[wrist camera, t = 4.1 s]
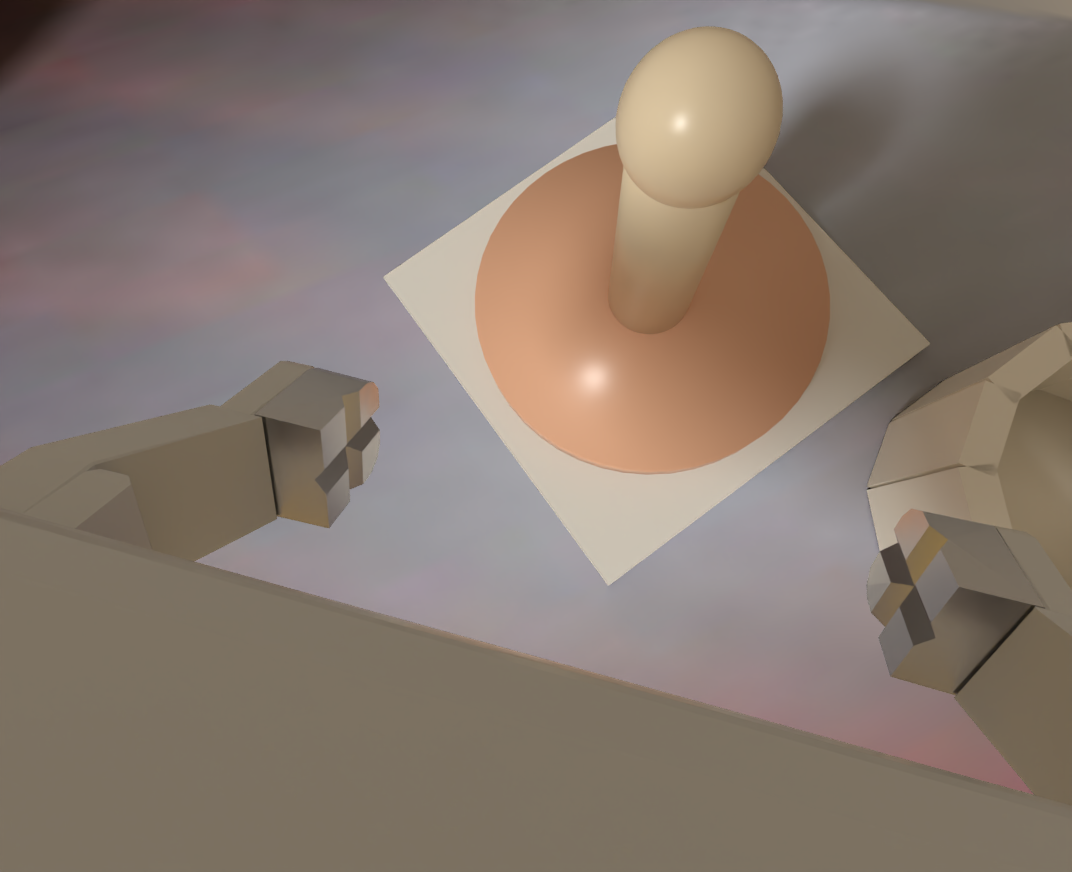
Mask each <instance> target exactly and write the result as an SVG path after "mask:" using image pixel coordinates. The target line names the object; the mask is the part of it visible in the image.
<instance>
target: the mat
mask: <svg viewBox="0 0 1072 872" xmlns="http://www.w3.org/2000/svg"><path fill="white" fill-rule="evenodd" d="M614 144H617V142H616V117H615V118H613V119H612V120H610V121H609V122H608V123H606V124H605V125H603V126H602V127H600V128H599V129H597V130H596V131H595V132H593V133H592V134H590V135H589V136H587V137H586V138H584V139H583V140H581V141H580V142H579V143H577V144H576V145H574V146H573V147H571V148H570V149H568V150H567V151H565V152H564V153H563V154H561V155H560V156H558V157H557V158H555V159H554V160H552V161H551V162H549V163H548V164H547V165H545V166H544V167H542V168H541V169H539V170H538V171H536V172H535V173H533V174H532V175H531V176H529V177H528V178H526V179H525V180H523V181H522V182H520V183H519V184H517V185H516V186H515V187H513V188H512V189H510V190H509V191H507V192H506V193H504V194H503V195H501V196H500V197H499V198H497V199H496V200H494V201H493V202H491V203H490V204H488V205H487V206H486V207H484V208H483V209H481V210H480V211H478V212H477V213H475V214H474V215H472V216H471V217H470V218H468V219H467V220H465V221H464V222H462V223H461V224H459V225H458V226H456V227H455V228H454V229H452V230H451V231H449V232H448V233H446V234H445V235H443V236H442V237H440V238H439V239H438V240H436V241H435V242H433V243H432V244H430V245H429V246H427V247H426V248H424V249H423V250H422V251H420V252H419V253H417V254H416V255H414V256H413V257H411V258H410V259H408V260H407V261H406V262H404V263H403V264H401V265H400V266H398V267H397V268H395V269H394V270H392V271H391V272H390V273H388V274H387V275H385V276H384V277H383V278H384V279H385V281H386V282H387V283H388V285H389V286H390V288H391V289H392V290H393V292H394V293H395V294H396V296H397V297H398V299H399V300H400V301H401V303H402V304H403V305H404V307H405V308H406V310H407V311H408V312H409V314H410V315H411V316H412V318H413V319H414V320H415V322H416V323H417V325H418V326H419V327H420V329H421V330H422V331H423V333H424V334H425V336H426V337H427V338H428V340H429V341H430V342H431V344H432V345H433V347H434V348H435V349H436V351H437V352H438V353H439V355H440V356H441V358H442V359H443V360H444V362H445V363H446V364H447V366H448V367H449V368H450V370H451V371H452V373H453V374H454V375H455V377H456V378H457V379H458V381H459V382H460V384H461V385H462V386H463V388H464V389H465V390H466V392H467V393H468V395H469V396H470V397H471V399H472V400H473V401H474V403H475V404H476V405H477V407H478V408H479V410H480V411H481V412H482V414H483V415H484V416H485V418H486V419H487V421H488V422H489V423H490V425H491V426H492V427H493V429H494V430H495V432H496V433H497V434H498V436H499V437H500V438H501V440H502V441H503V442H504V444H505V445H506V447H507V448H508V449H509V451H510V452H511V453H512V455H513V456H514V458H515V459H516V460H517V462H518V463H519V464H520V466H521V467H522V469H523V470H524V471H525V473H526V474H527V475H528V477H529V478H530V480H531V481H532V482H533V484H534V485H535V486H536V488H537V489H538V490H539V492H540V493H541V495H542V496H543V497H544V499H545V500H546V501H547V503H548V504H549V506H550V507H551V508H552V510H553V511H554V512H555V514H556V515H557V517H558V518H559V519H560V521H561V522H562V523H563V525H564V526H565V527H566V529H567V530H568V532H569V533H570V534H571V536H572V537H573V538H574V540H575V541H576V543H577V544H578V545H579V547H580V548H581V549H582V551H583V552H584V554H585V555H586V556H587V558H588V559H589V560H590V562H591V563H592V564H593V566H594V567H595V569H596V570H597V571H598V573H599V574H600V575H601V577H602V578H603V580H604V581H605V582H606V584H607V585H608V586H609V585H610V584H612V583H613V582H614V581H616V580H617V579H618V578H620V577H621V576H622V575H624V574H625V573H626V572H628V571H629V570H630V569H632V568H633V567H634V566H636V565H637V564H638V563H640V562H641V561H642V560H644V559H645V558H646V557H647V556H649V555H650V554H651V553H653V552H654V551H655V550H657V549H658V548H659V547H661V546H662V545H663V544H665V543H666V542H667V541H669V540H670V539H671V538H673V537H674V536H675V535H677V534H678V533H679V532H681V531H682V530H683V529H685V528H686V527H687V526H689V525H690V524H691V523H693V522H694V521H695V520H697V519H698V518H699V517H701V516H702V515H703V514H705V513H706V512H707V511H709V510H710V509H711V508H713V507H714V506H715V505H717V504H718V503H719V502H721V501H722V500H723V499H725V498H726V497H727V496H729V495H730V494H731V493H733V492H734V491H735V490H737V489H738V488H739V487H741V486H742V485H743V484H745V483H746V482H747V481H749V480H750V479H751V478H753V477H754V476H755V475H757V474H758V473H759V472H761V471H762V470H763V469H765V468H766V467H767V466H769V465H770V464H771V463H773V462H774V461H775V460H777V459H778V458H779V457H781V456H782V455H783V454H785V453H786V452H787V451H789V450H790V449H791V448H792V447H794V446H795V445H796V444H798V443H799V442H800V441H802V440H803V439H804V438H806V437H807V436H808V435H810V434H811V433H812V432H814V431H815V430H816V429H818V428H819V427H820V426H822V425H823V424H824V423H826V422H827V421H828V420H830V419H831V418H832V417H834V416H835V415H836V414H838V413H839V412H840V411H842V410H843V409H844V408H846V407H847V406H848V405H850V404H851V403H852V402H854V401H855V400H856V399H858V398H859V397H860V396H862V395H863V394H864V393H866V392H867V391H868V390H870V389H871V388H872V387H874V386H875V385H876V384H878V383H879V382H880V381H882V380H883V379H884V378H886V377H887V376H888V375H890V374H891V373H892V372H894V371H895V370H896V369H898V368H899V367H900V366H902V365H903V364H904V363H906V362H907V361H908V360H910V359H911V358H912V357H914V356H915V355H916V354H918V353H919V352H920V351H922V350H923V349H924V348H926V347H927V346H928V345H930V343H929V341H928V340H927V339H926V338H925V337H924V336H923V335H922V334H921V333H920V332H919V331H918V330H917V329H916V328H915V327H914V326H913V325H912V324H911V322H910V321H909V320H908V319H907V318H906V317H905V316H904V315H903V314H902V313H901V312H900V311H899V310H898V309H897V308H896V307H895V306H894V305H893V303H892V302H891V301H890V300H889V299H888V298H887V297H886V296H885V295H884V294H883V293H882V292H881V291H880V290H879V289H878V288H877V287H876V285H875V284H874V283H873V282H872V281H871V280H870V279H869V278H868V277H867V276H866V275H865V274H864V273H863V272H862V271H861V270H860V269H859V268H858V266H857V265H856V264H855V263H854V262H853V261H852V260H851V259H850V258H849V257H848V256H847V255H846V254H845V253H844V252H843V251H842V250H841V249H840V247H839V246H838V245H837V244H836V243H835V242H834V241H833V240H832V239H831V238H830V237H829V236H828V235H827V234H826V233H825V232H824V231H823V230H822V228H821V227H820V226H819V225H818V224H817V223H816V222H815V221H814V220H813V219H812V218H811V217H810V216H809V215H808V214H807V213H806V212H805V210H804V209H803V208H802V207H801V206H800V205H799V204H798V203H797V202H796V201H795V200H794V199H793V198H792V197H791V196H790V195H789V194H788V193H787V191H786V190H785V189H784V188H783V187H782V186H781V185H780V184H779V183H778V182H777V181H776V180H775V179H774V178H773V177H772V176H771V175H770V174H769V172H768V171H767V170H766V169H765V168H764V167H763V169H762V170H761V172H760V173H759V175H760V176H761V177H763V178H764V179H766V180H767V181H768V182H770V183H771V184H772V185H773V186H774V187H775V188H776V189H777V190H778V191H779V192H781V193H782V194H783V195H784V196H785V197H786V198H787V199H788V201H789V202H790V203H791V204H792V205H793V207H794V208H795V209H796V210H797V212H798V213H799V214H800V215H801V217H802V219H803V220H804V222H805V223H806V225H807V226H808V228H809V230H810V231H811V233H812V235H813V237H814V239H815V242H816V244H817V246H818V248H819V251H820V253H821V256H822V259H823V263H824V266H825V270H826V273H827V279H828V286H829V293H830V321H829V328H828V335H827V341H826V344H825V347H824V351H823V354H822V357H821V361H820V363H819V365H818V367H817V369H816V372H815V374H814V376H813V378H812V380H811V382H810V384H809V385H808V387H807V388H806V390H805V391H804V393H803V394H802V396H801V397H800V399H799V400H798V402H797V403H796V404H795V405H794V406H793V407H792V409H791V410H790V411H789V412H788V413H787V414H786V415H785V417H784V418H783V419H782V420H780V421H779V422H778V423H777V424H776V425H775V426H773V427H772V428H771V429H770V430H769V431H768V432H766V433H765V434H764V435H762V436H761V437H759V438H758V439H757V440H755V441H753V442H752V443H750V444H749V445H747V446H746V447H744V448H743V449H741V450H740V451H738V452H736V453H734V454H732V455H730V456H728V457H726V458H724V459H722V460H720V461H717V462H715V463H712V464H709V465H706V466H703V467H699V468H696V469H693V470H688V471H682V472H676V473H671V474H651V475H644V474H632V473H622V472H618V471H613V470H608V469H604V468H600V467H597V466H594V465H591V464H588V463H585V462H583V461H580V460H578V459H576V458H574V457H572V456H570V455H568V454H566V453H564V452H562V451H560V450H558V449H557V448H555V447H554V446H552V445H551V444H549V443H548V442H546V441H545V440H543V439H542V438H541V437H539V436H538V435H537V434H536V433H535V432H534V431H533V430H532V429H530V428H529V427H528V426H527V425H526V424H525V423H524V422H523V421H522V420H521V419H520V418H519V416H518V415H517V414H516V413H515V412H514V410H513V409H512V408H511V407H510V406H509V404H508V403H507V401H506V399H505V398H504V396H503V395H502V393H501V392H500V390H499V389H498V387H497V384H496V382H495V380H494V378H493V376H492V374H491V372H490V369H489V367H488V365H487V363H486V361H485V358H484V355H483V351H482V348H481V345H480V342H479V338H478V332H477V326H476V319H475V290H476V282H477V274H478V271H479V267H480V263H481V259H482V256H483V253H484V250H485V248H486V246H487V243H488V241H489V238H490V236H491V234H492V232H493V231H494V229H495V227H496V226H497V224H498V222H499V220H500V219H501V217H502V216H503V214H504V213H505V212H506V211H507V209H508V208H509V207H510V205H511V204H512V203H513V201H514V200H515V199H516V198H517V197H518V196H519V195H520V194H521V193H522V192H523V191H524V190H525V189H526V188H527V187H528V186H529V185H531V184H532V183H533V182H535V181H536V180H537V179H538V178H540V177H541V176H542V175H543V174H545V173H546V172H548V171H549V170H551V169H553V168H554V167H556V166H558V165H559V164H561V163H563V162H565V161H567V160H569V159H571V158H573V157H576V156H578V155H580V154H582V153H585V152H588V151H591V150H595V149H598V148H601V147H604V146H609V145H614Z"/></svg>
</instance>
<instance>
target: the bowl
mask: <svg viewBox="0 0 1072 872" xmlns="http://www.w3.org/2000/svg"><path fill="white" fill-rule="evenodd" d="M891 421H892V422H891V423H889V425H888V428H887V431H886V433H885V436H884V439H883V442H882V445H881V448H880V450H879V453H878V456H877V459H876V462H875V465H874V467H873V470H872V473H871V476H870V479H869V482H868V484H867V487H869V488H872V489H868V490H867V494H868V499H869V503H870V508H871V513H872V517H873V522H874V526H875V531H876V536H877V540H878V545H879V549H880V551H881V550H883V549H885V548H888V547H890V546H892V545H894V544H896V543H898V542H897V538H896V535H895V532H894V528H895V526H896V525H897V523H898V522H899V520H900V519H901V517H902V516H903V515H904V514H905V513H907V512H908V511H909V510H910V509H916V510H921V511H925V512H930V513H935V514H939V515H944V516H949V517H954V518H958V519H963V520H968V521H972V522H977V523H982V524H989V525H994V526H999V527H1004V528H1009V529H1014V530H1019V531H1024V532H1027V533H1028V534H1030V535H1032V536H1033V537H1035V538H1036V539H1037V540H1038V542H1039V543H1040V545H1041V546H1042V548H1043V549H1044V550H1045V552H1046V553H1047V555H1048V556H1049V558H1050V559H1051V561H1052V562H1053V564H1054V565H1055V567H1056V568H1057V569H1058V571H1059V572H1060V574H1061V575H1062V577H1063V578H1064V580H1065V581H1066V583H1067V584H1068V586H1069V587H1070V588H1071V590H1072V322H1068V323H1060V324H1058V325H1055V326H1053V327H1051V328H1049V329H1047V330H1045V331H1043V332H1041V333H1039V334H1037V335H1035V336H1033V337H1031V338H1029V339H1027V340H1025V341H1023V342H1021V343H1019V344H1017V345H1015V346H1013V347H1011V348H1009V349H1007V350H1005V351H1002V352H1000V353H998V354H996V355H994V356H992V357H990V358H988V359H986V360H984V361H982V362H980V363H978V364H976V365H974V366H972V367H970V368H968V369H966V370H964V371H962V372H960V373H958V374H956V375H954V376H952V377H950V378H948V379H946V380H944V381H942V382H941V383H940V384H939V385H937V386H936V387H935V388H933V389H932V390H931V391H929V392H928V393H927V394H925V395H924V396H923V397H921V398H920V399H919V400H917V401H916V402H915V403H913V404H912V405H911V406H909V407H908V408H907V409H906V410H904V411H903V412H902V413H900V414H899V415H898V416H896V417H895V418H894V419H892V420H891Z"/></svg>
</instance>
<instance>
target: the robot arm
mask: <svg viewBox="0 0 1072 872" xmlns="http://www.w3.org/2000/svg"><path fill="white" fill-rule="evenodd" d="M378 408H379V394H378V388H377V386H376V385H375V384H374V382H371V381H367V380H363V379H359V378H355V377H351V376H347V375H343V374H340V373H336V372H332V371H328V370H324V369H320V368H314V367H313V366H309V365H304V364H299V363H295V362H290V361H280V362H279V363H277V364H276V365H275V366H273V367H272V368H271V369H269V370H268V371H267V372H265V373H264V374H263V375H261V376H260V377H259V378H257V379H256V380H255V381H253V382H252V383H251V384H249V385H248V386H247V387H245V388H244V389H243V390H241V391H240V392H239V393H237V394H236V395H235V396H233V397H232V398H231V399H229V400H228V401H227V402H225V403H224V404H223V405H221V406H220V407H219V406H214V405H206V406H202V407H198V408H194V409H190V410H185V411H181V412H177V413H173V414H169V415H165V416H160V417H156V418H152V419H148V420H144V421H140V422H135V423H131V424H127V425H123V426H119V427H115V428H110V429H106V430H102V431H98V432H94V433H89V434H85V435H81V436H77V437H73V438H69V439H64V440H60V441H56V442H52V443H48V444H44V445H39V446H35V447H31V448H29V449H28V450H26V451H24V452H23V453H21V454H20V455H18V456H16V457H15V458H13V459H11V460H10V461H8V462H6V463H5V464H3V465H1V466H0V872H1072V590H1071V588H1070V587H1069V586H1068V584H1067V583H1066V581H1065V580H1064V578H1063V577H1062V575H1061V574H1060V572H1059V571H1058V569H1057V568H1056V567H1055V565H1054V564H1053V562H1052V561H1051V559H1050V558H1049V556H1048V555H1047V553H1046V552H1045V550H1044V549H1043V548H1042V546H1041V545H1040V543H1039V542H1038V540H1037V539H1036V538H1035V537H1033V536H1032V535H1030V534H1028V533H1027V532H1024V531H1019V530H1014V529H1009V528H1004V527H999V526H994V525H989V524H982V523H977V522H972V521H968V520H963V519H958V518H954V517H949V516H944V515H939V514H935V513H930V512H925V511H921V510H916V509H910V510H909V511H908V512H907V513H905V514H904V515H903V516H902V517H901V519H900V520H899V522H898V523H897V525H896V526H895V528H894V532H895V535H896V538H897V542H898V543H896V544H894V545H892V546H890V547H888V548H885V549H883V550H881V551H880V552H879V554H878V555H877V557H876V559H875V561H874V562H873V564H872V566H871V568H870V572H869V577H868V581H867V600H868V604H869V607H870V611H871V613H872V614H873V615H874V616H875V617H876V618H877V619H878V620H879V621H880V622H881V623H882V624H883V625H884V626H885V628H884V630H883V631H882V633H881V634H880V636H879V637H878V638H879V641H880V644H881V648H882V651H883V654H884V657H885V661H886V664H887V667H888V670H889V674H890V677H894V678H897V679H901V680H904V681H908V682H911V683H915V684H918V685H921V686H925V687H928V688H932V689H935V690H939V691H942V692H946V693H949V694H953V695H956V696H955V697H954V698H955V700H956V701H957V702H958V703H959V704H960V706H961V707H962V708H963V709H964V710H965V712H966V713H967V714H968V715H969V716H970V718H971V719H972V720H973V721H974V723H975V724H976V725H977V726H978V727H979V729H980V730H981V731H982V732H983V733H984V735H985V736H986V737H987V738H988V739H989V741H990V742H991V743H992V744H993V745H994V747H995V748H996V749H997V750H998V751H999V753H1000V754H1001V755H1002V756H1003V757H1004V759H1005V760H1006V761H1007V762H1008V764H1009V765H1010V766H1011V767H1012V768H1013V770H1014V771H1015V772H1016V773H1017V774H1018V776H1019V777H1020V778H1021V779H1022V780H1023V782H1024V783H1025V784H1026V785H1027V786H1028V788H1029V789H1030V790H1031V791H1032V792H1033V794H1034V795H1033V794H1029V793H1025V792H1022V791H1018V790H1014V789H1011V788H1007V787H1003V786H1000V785H996V784H992V783H989V782H985V781H982V780H978V779H974V778H971V777H967V776H963V775H960V774H956V773H952V772H949V771H945V770H942V769H938V768H934V767H931V766H927V765H924V764H920V763H916V762H913V761H909V760H906V759H902V758H899V757H895V756H891V755H888V754H884V753H881V752H877V751H874V750H870V749H866V748H863V747H859V746H856V745H852V744H849V743H845V742H841V741H838V740H834V739H831V738H827V737H824V736H820V735H816V734H813V733H809V732H806V731H802V730H799V729H795V728H791V727H788V726H784V725H781V724H777V723H774V722H770V721H766V720H763V719H759V718H756V717H752V716H749V715H745V714H741V713H738V712H734V711H731V710H727V709H724V708H720V707H716V706H713V705H709V704H706V703H702V702H698V701H695V700H691V699H688V698H684V697H680V696H677V695H673V694H670V693H666V692H662V691H659V690H655V689H652V688H648V687H644V686H641V685H637V684H633V683H630V682H626V681H623V680H619V679H615V678H612V677H608V676H605V675H601V674H597V673H594V672H590V671H586V670H583V669H579V668H576V667H572V666H568V665H565V664H561V663H558V662H554V661H550V660H547V659H543V658H539V657H536V656H532V655H529V654H525V653H521V652H518V651H514V650H511V649H507V648H503V647H500V646H496V645H493V644H489V643H485V642H482V641H478V640H474V639H471V638H467V637H464V636H460V635H456V634H453V633H449V632H446V631H442V630H438V629H435V628H431V627H428V626H424V625H420V624H417V623H413V622H410V621H406V620H402V619H399V618H395V617H392V616H388V615H384V614H381V613H377V612H374V611H370V610H366V609H363V608H359V607H355V606H352V605H348V604H345V603H341V602H337V601H334V600H330V599H327V598H323V597H319V596H316V595H312V594H309V593H305V592H301V591H298V590H294V589H291V588H287V587H283V586H280V585H276V584H273V583H269V582H265V581H262V580H258V579H255V578H251V577H247V576H244V575H240V574H237V573H233V572H229V571H226V570H222V569H219V568H215V567H211V566H208V565H204V564H201V563H197V562H194V561H196V560H198V559H200V558H202V557H204V556H206V555H208V554H210V553H212V552H214V551H215V550H217V549H219V548H221V547H223V546H225V545H227V544H229V543H231V542H233V541H235V540H237V539H239V538H241V537H243V536H245V535H247V534H249V533H251V532H252V531H254V530H256V529H258V528H260V527H262V526H264V525H266V524H268V523H270V522H272V521H274V520H276V519H277V516H279V517H283V518H287V519H291V520H296V521H300V522H304V523H308V524H313V525H317V526H321V527H325V528H330V527H331V525H332V524H333V523H334V521H335V520H336V519H337V518H338V516H339V515H340V514H341V512H342V511H343V510H344V508H345V507H346V506H347V505H348V503H349V502H350V490H349V489H352V488H354V487H357V486H359V485H362V484H363V483H364V482H365V481H366V479H367V478H368V477H369V475H370V474H371V472H372V470H373V467H374V465H375V462H376V460H377V457H378V451H379V445H380V430H379V428H378V427H377V425H376V424H375V422H374V421H373V419H372V418H371V416H372V415H373V414H374V412H375V411H376V410H377V409H378Z"/></svg>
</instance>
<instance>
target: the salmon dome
mask: <svg viewBox="0 0 1072 872" xmlns="http://www.w3.org/2000/svg"><path fill="white" fill-rule="evenodd" d="M782 117H783V98H782V90H781V86H780V82H779V79H778V75H777V73H776V71H775V69H774V67H773V65H772V63H771V61H770V60H769V58H768V57H767V55H766V54H765V53H764V52H763V50H762V49H761V48H760V47H759V46H757V45H756V44H755V43H754V42H753V41H752V40H750V39H749V38H747V37H746V36H744V35H742V34H740V33H738V32H736V31H733V30H730V29H726V28H721V27H708V26H706V27H697V28H692V29H688V30H685V31H682V32H679V33H677V34H674V35H672V36H670V37H668V38H667V39H665V40H663V41H662V42H661V43H659V44H658V45H656V46H655V47H654V48H653V49H651V50H650V51H649V52H648V53H647V54H646V55H645V56H644V57H643V58H642V60H641V61H640V62H639V63H638V64H637V66H636V67H635V68H634V70H633V72H632V73H631V75H630V77H629V79H628V80H627V82H626V84H625V87H624V89H623V92H622V94H621V97H620V100H619V104H618V109H617V114H616V142H617V144H614V145H609V146H604V147H601V148H598V149H595V150H591V151H588V152H585V153H582V154H580V155H578V156H576V157H573V158H571V159H569V160H567V161H565V162H563V163H561V164H559V165H558V166H556V167H554V168H553V169H551V170H549V171H548V172H546V173H545V174H543V175H542V176H541V177H540V178H538V179H537V180H536V181H535V182H533V183H532V184H531V185H529V186H528V187H527V188H526V189H525V190H524V191H523V192H522V193H521V194H520V195H519V196H518V197H517V198H516V199H515V200H514V201H513V203H512V204H511V205H510V207H509V208H508V209H507V211H506V212H505V213H504V214H503V216H502V217H501V219H500V220H499V222H498V224H497V226H496V227H495V229H494V231H493V232H492V234H491V236H490V238H489V241H488V243H487V246H486V248H485V250H484V253H483V256H482V259H481V263H480V267H479V271H478V274H477V282H476V290H475V319H476V326H477V332H478V338H479V342H480V345H481V348H482V351H483V355H484V358H485V361H486V363H487V365H488V367H489V369H490V372H491V374H492V376H493V378H494V380H495V382H496V384H497V387H498V389H499V390H500V392H501V393H502V395H503V396H504V398H505V399H506V401H507V403H508V404H509V406H510V407H511V408H512V409H513V410H514V412H515V413H516V414H517V415H518V416H519V418H520V419H521V420H522V421H523V422H524V423H525V424H526V425H527V426H528V427H529V428H530V429H532V430H533V431H534V432H535V433H536V434H537V435H538V436H539V437H541V438H542V439H543V440H545V441H546V442H548V443H549V444H551V445H552V446H554V447H555V448H557V449H558V450H560V451H562V452H564V453H566V454H568V455H570V456H572V457H574V458H576V459H578V460H580V461H583V462H585V463H588V464H591V465H594V466H597V467H600V468H604V469H608V470H613V471H618V472H622V473H632V474H644V475H651V474H671V473H676V472H682V471H688V470H693V469H696V468H699V467H703V466H706V465H709V464H712V463H715V462H717V461H720V460H722V459H724V458H726V457H728V456H730V455H732V454H734V453H736V452H738V451H740V450H741V449H743V448H744V447H746V446H747V445H749V444H750V443H752V442H753V441H755V440H757V439H758V438H759V437H761V436H762V435H764V434H765V433H766V432H768V431H769V430H770V429H771V428H772V427H773V426H775V425H776V424H777V423H778V422H779V421H780V420H782V419H783V418H784V417H785V415H786V414H787V413H788V412H789V411H790V410H791V409H792V407H793V406H794V405H795V404H796V403H797V402H798V400H799V399H800V397H801V396H802V394H803V393H804V391H805V390H806V388H807V387H808V385H809V384H810V382H811V380H812V378H813V376H814V374H815V372H816V369H817V367H818V365H819V363H820V361H821V357H822V354H823V351H824V347H825V344H826V341H827V335H828V328H829V321H830V293H829V286H828V279H827V273H826V270H825V266H824V263H823V259H822V256H821V253H820V251H819V248H818V246H817V244H816V242H815V239H814V237H813V235H812V233H811V231H810V230H809V228H808V226H807V225H806V223H805V222H804V220H803V219H802V217H801V215H800V214H799V213H798V212H797V210H796V209H795V208H794V207H793V205H792V204H791V203H790V202H789V201H788V199H787V198H786V197H785V196H784V195H783V194H782V193H781V192H779V191H778V190H777V189H776V188H775V187H774V186H773V185H772V184H771V183H770V182H768V181H767V180H766V179H764V178H763V177H761V176H760V175H759V173H760V172H761V170H762V169H763V167H764V166H765V164H766V163H767V161H768V159H769V158H770V156H771V154H772V152H773V150H774V148H775V145H776V142H777V139H778V136H779V133H780V128H781V122H782Z"/></svg>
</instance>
